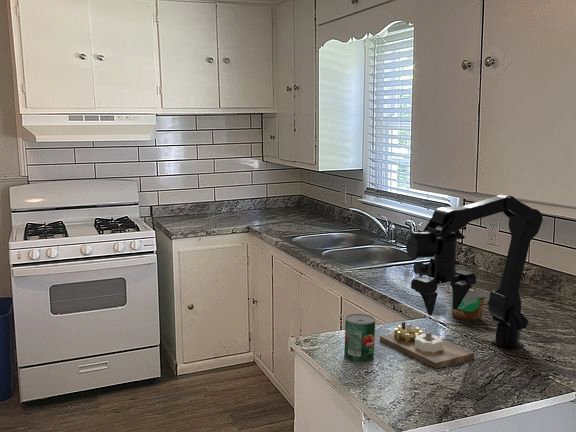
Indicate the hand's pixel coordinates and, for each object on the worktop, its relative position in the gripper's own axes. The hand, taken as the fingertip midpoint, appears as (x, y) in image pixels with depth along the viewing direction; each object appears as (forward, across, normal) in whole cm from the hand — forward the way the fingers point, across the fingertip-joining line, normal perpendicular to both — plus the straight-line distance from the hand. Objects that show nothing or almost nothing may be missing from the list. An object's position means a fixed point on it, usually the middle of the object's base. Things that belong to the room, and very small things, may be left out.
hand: (442, 312), depth 160 cm
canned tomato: (+12, +22, -8) cm, 26 cm away
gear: (+10, +3, -10) cm, 15 cm away
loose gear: (+10, +3, -2) cm, 11 cm away
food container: (+12, -28, -18) cm, 36 cm away
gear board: (+12, +2, -4) cm, 12 cm away
